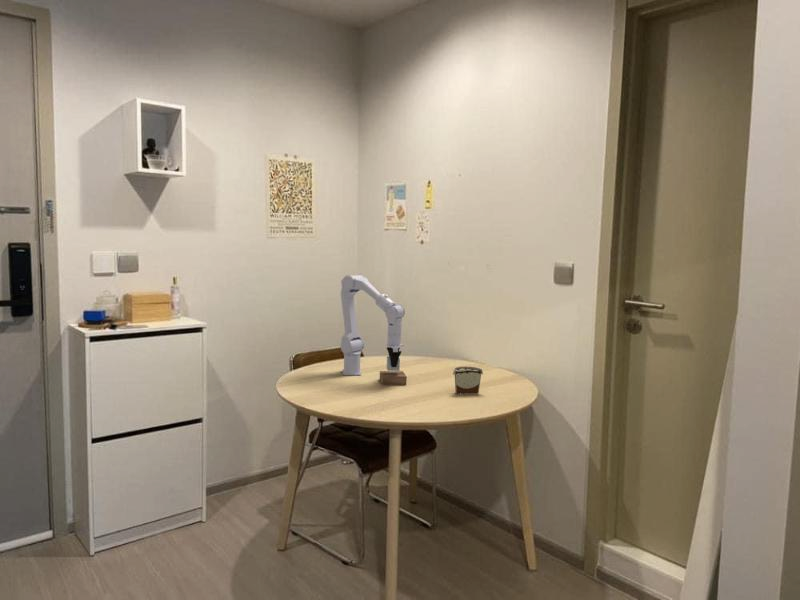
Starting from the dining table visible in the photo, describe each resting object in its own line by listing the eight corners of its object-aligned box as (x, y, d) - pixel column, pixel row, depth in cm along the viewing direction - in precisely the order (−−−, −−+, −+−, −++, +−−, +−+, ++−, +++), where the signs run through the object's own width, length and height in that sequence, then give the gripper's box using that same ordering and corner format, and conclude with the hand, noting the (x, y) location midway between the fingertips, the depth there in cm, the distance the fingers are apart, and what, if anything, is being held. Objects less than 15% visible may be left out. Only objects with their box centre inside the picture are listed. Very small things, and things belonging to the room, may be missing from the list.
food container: (476, 389, 246) (477, 365, 245) (481, 393, 241) (483, 369, 239) (447, 390, 243) (449, 366, 242) (452, 394, 238) (454, 369, 236)
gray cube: (386, 367, 255) (386, 356, 255) (398, 368, 256) (398, 356, 255) (387, 370, 250) (388, 358, 250) (399, 370, 251) (399, 359, 250)
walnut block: (379, 380, 258) (379, 371, 257) (402, 380, 260) (402, 371, 259) (382, 386, 248) (382, 376, 248) (406, 385, 250) (406, 376, 249)
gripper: (405, 337, 245) (404, 369, 246) (402, 331, 259) (400, 361, 261) (388, 336, 244) (387, 369, 245) (385, 330, 258) (384, 361, 260)
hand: (393, 365), depth 253 cm, fingers closed on gray cube, 5 cm apart
